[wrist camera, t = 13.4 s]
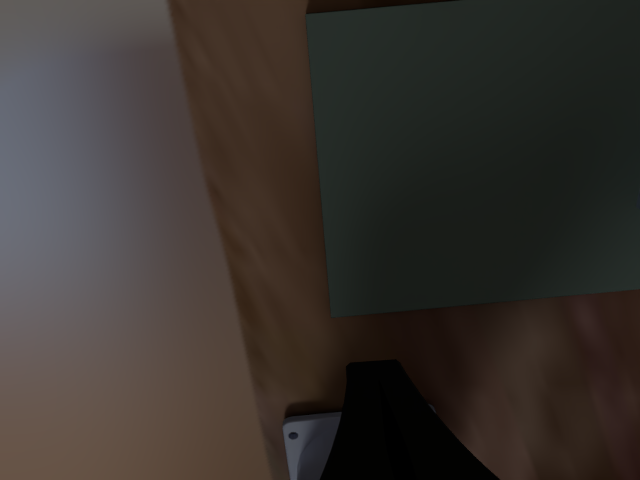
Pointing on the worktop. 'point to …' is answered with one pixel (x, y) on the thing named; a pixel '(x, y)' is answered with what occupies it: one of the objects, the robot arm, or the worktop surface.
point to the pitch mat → (477, 151)
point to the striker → (638, 201)
